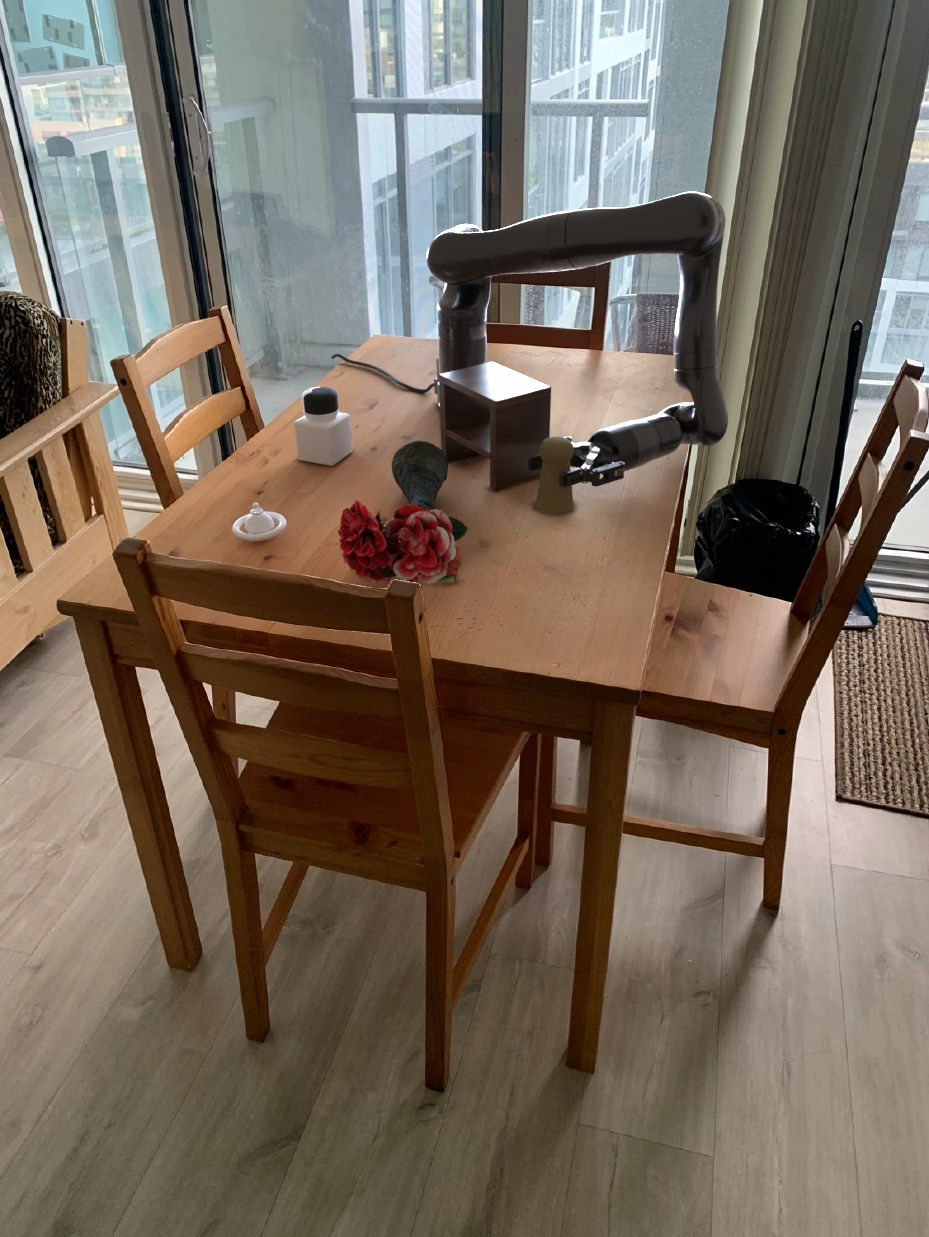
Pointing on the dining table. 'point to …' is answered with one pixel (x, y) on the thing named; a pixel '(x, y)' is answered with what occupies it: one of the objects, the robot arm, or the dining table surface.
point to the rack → (494, 419)
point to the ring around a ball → (259, 525)
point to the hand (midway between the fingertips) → (545, 472)
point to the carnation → (406, 525)
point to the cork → (554, 476)
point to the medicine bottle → (322, 428)
